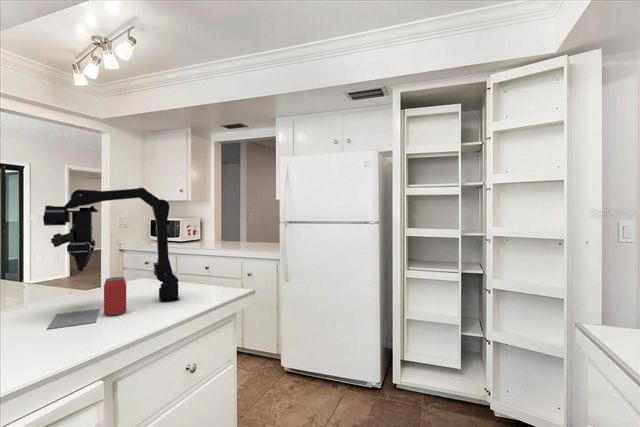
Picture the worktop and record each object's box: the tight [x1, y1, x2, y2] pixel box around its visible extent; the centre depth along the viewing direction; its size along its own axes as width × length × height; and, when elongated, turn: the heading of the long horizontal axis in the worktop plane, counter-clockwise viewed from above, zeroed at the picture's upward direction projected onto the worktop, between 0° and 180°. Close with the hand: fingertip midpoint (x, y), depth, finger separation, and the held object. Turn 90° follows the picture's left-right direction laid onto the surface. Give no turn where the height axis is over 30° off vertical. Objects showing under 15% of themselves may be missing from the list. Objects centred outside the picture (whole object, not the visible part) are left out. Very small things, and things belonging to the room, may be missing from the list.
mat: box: [46, 308, 101, 331], centre depth 107 cm, size 12×16×1 cm
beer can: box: [103, 276, 127, 317], centre depth 112 cm, size 7×7×12 cm
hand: (82, 269), depth 116 cm, fingers open, 9 cm apart
